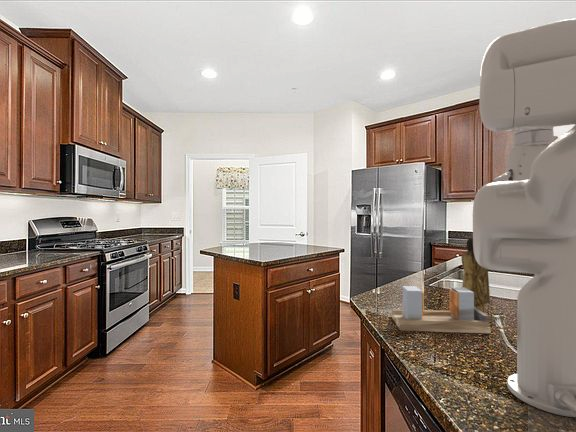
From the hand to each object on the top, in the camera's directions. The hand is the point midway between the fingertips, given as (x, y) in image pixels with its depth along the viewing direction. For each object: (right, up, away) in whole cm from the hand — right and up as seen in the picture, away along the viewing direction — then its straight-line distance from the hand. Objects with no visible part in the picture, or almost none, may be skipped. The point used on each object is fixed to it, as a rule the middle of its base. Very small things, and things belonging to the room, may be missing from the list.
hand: (532, 213), depth 77 cm
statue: (+4, -33, +30) cm, 44 cm away
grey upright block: (-21, -31, +19) cm, 43 cm away
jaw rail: (-14, -33, +19) cm, 40 cm away
